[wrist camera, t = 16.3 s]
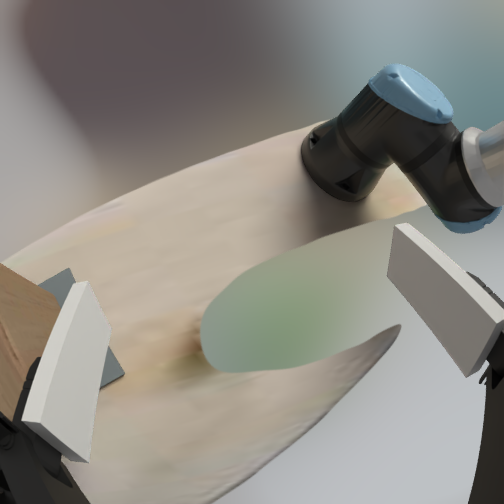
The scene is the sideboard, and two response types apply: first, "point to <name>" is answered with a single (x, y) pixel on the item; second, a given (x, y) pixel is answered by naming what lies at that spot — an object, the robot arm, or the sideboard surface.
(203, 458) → the sideboard surface
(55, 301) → the wooden block
